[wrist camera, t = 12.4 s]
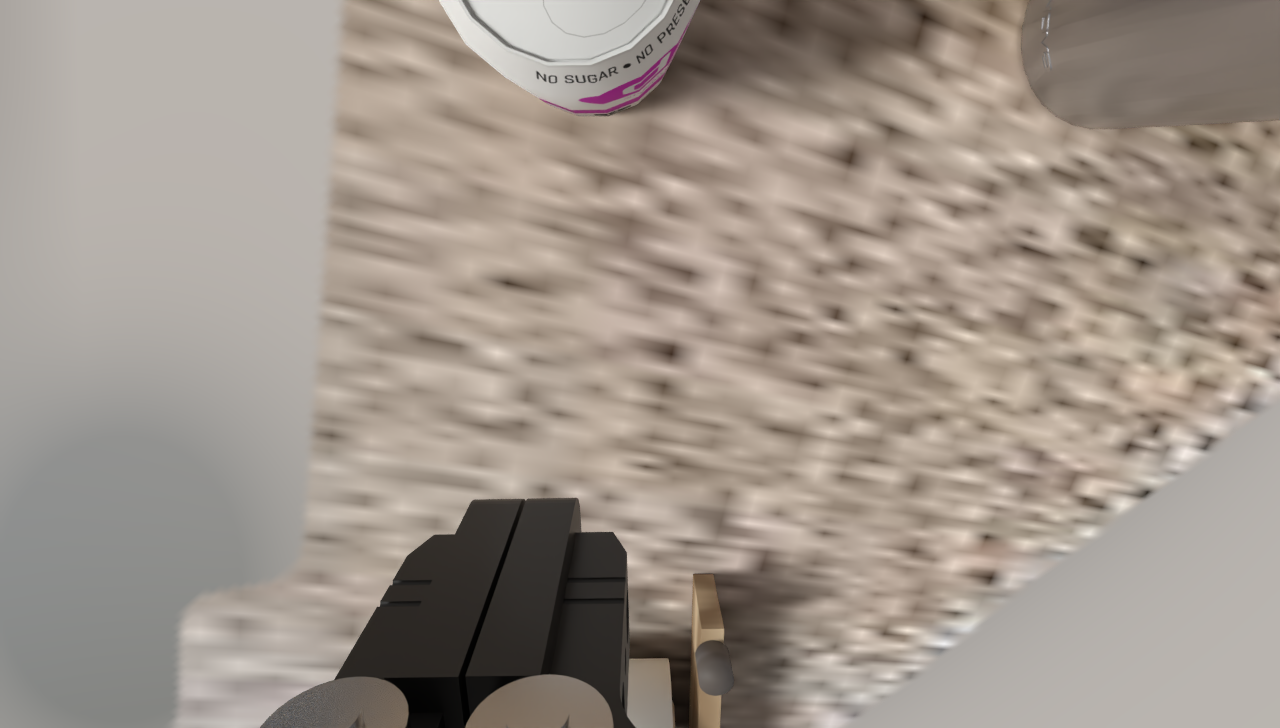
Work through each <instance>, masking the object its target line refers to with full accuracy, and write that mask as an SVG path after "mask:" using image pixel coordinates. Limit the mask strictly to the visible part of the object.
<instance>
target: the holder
mask: <svg viewBox="0 0 1280 728" xmlns="http://www.w3.org/2000/svg"><path fill="white" fill-rule="evenodd" d="M733 684H734V677H733V672H732V667H731V662H730V657H729V652H728V648H727V647H726V645H725V644H724V625H723V620H722V616H721V611H720V606H719V601H718V596H717V591H716V586H715V581H714V576H713V574H693V599H692V636H691V672H690V708H689V728H720V713H721V695H723V694H725V693H727V692H728V691H730V689H731V688H732V687H733Z"/></svg>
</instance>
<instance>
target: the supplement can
mask: <svg viewBox="0 0 1280 728" xmlns="http://www.w3.org/2000/svg"><path fill="white" fill-rule="evenodd" d="M439 2H440V3H441V5H442V6H443V8H444V10H445V11H446V13H447V15H448V16H449V18H450V20H451V21H452V23H453V24H454V26H455V28H456V29H457V31H458V33H459V34H460V36H461V38H462V39H463V41H464V42H465V44H466V45H467V46H469V47H470V48H471V49H472V50H473V51H474V52H476V53H477V54H478V55H479V56H480V57H482V58H483V59H484V60H485V61H486V62H487V63H489V64H490V65H491V66H492V67H493V68H495V69H496V70H497V71H498V72H499V73H500V74H502V75H503V76H504V77H505V78H507V79H509V80H510V81H512V82H513V83H515V84H517V85H518V86H520V87H521V88H523V89H525V90H526V91H528V92H529V93H531V94H533V95H534V96H536V97H537V98H539V99H541V100H542V101H544V102H545V103H547V104H549V105H550V106H553V107H555V108H558V109H561V110H564V111H566V112H569V113H572V114H574V115H577V116H610V115H613V114H615V113H618V112H620V111H623V110H625V109H628V108H630V107H633V106H635V105H637V104H638V103H639V102H641V101H642V100H643V99H644V98H645V97H646V96H647V95H648V94H649V93H650V92H651V91H653V90H654V89H655V88H656V87H657V86H658V85H659V84H660V83H661V81H662V79H663V77H664V75H665V73H666V71H667V69H668V68H669V66H670V64H671V62H672V60H673V58H674V56H675V54H676V52H677V50H678V48H679V46H680V43H681V41H682V39H683V37H684V35H685V33H686V30H687V28H688V26H689V24H690V22H691V20H692V17H693V15H694V13H695V11H696V9H697V7H698V5H699V2H700V0H439Z"/></svg>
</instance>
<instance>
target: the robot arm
mask: <svg viewBox="0 0 1280 728" xmlns="http://www.w3.org/2000/svg"><path fill="white" fill-rule="evenodd" d="M1021 51H1022V58H1023V65H1024V71H1025V73H1026V76H1027V78H1028V81H1029V84H1030V86H1031V89H1032V90H1033V92H1034V93H1035V95H1036V96H1037V97H1038V99H1039V100H1040V102H1041V103H1042V105H1044V106H1045V107H1046V108H1047V109H1048V110H1049V111H1050V112H1051V113H1053V114H1054V115H1055V116H1056V117H1058V118H1060V119H1062V120H1064V121H1066V122H1068V123H1070V124H1072V125H1075V126H1080V127H1084V128H1088V129H1117V128H1136V127H1161V126H1180V125H1199V124H1217V123H1236V122H1255V121H1273V120H1280V0H1030V1H1029V3H1028V6H1027V10H1026V14H1025V18H1024V22H1023V26H1022V42H1021ZM380 602H381V604H380V607H377V608H376V610H375V612H374V613H373V615H372V617H371V618H370V620H369V622H368V624H367V625H366V627H365V629H364V630H363V632H362V634H361V635H360V637H359V639H358V640H357V642H356V644H355V646H354V647H353V649H352V651H351V652H350V654H349V656H348V657H347V659H346V661H345V663H344V664H343V666H342V668H341V669H340V671H339V673H338V674H337V676H336V678H335V679H334V680H333V681H329V682H326V683H323V684H321V685H318V686H315V687H313V688H311V689H309V690H307V691H305V692H302V693H301V694H299V695H297V696H296V697H294V698H292V699H291V700H289V701H288V702H287V703H285V704H284V705H282V706H281V707H280V708H279V709H277V710H276V711H275V712H274V713H273V714H272V715H271V716H270V717H269V718H268V719H267V720H266V721H265V722H264V723H263V725H262V726H261V727H260V728H636V727H635V726H634V725H633V724H632V722H631V721H630V719H629V718H628V717H627V705H628V672H629V649H630V638H629V607H628V576H627V552H626V551H625V549H624V548H623V546H622V545H621V543H620V542H619V540H618V539H617V537H616V536H615V534H614V533H613V532H582V533H581V517H580V505H579V500H578V498H542V499H527V500H526V501H525V499H487V500H473V501H472V502H471V504H470V505H469V507H468V509H467V511H466V513H465V515H464V517H463V519H462V521H461V523H460V525H459V527H458V529H457V531H456V533H455V535H433V536H432V537H431V538H430V539H428V540H427V541H426V542H424V543H423V544H422V545H421V546H419V547H418V548H417V549H415V550H414V551H413V552H412V553H410V554H409V555H408V556H407V557H406V559H405V561H404V562H403V564H402V566H401V568H400V569H399V571H398V573H397V574H396V576H395V578H394V579H393V585H390V586H389V588H388V590H387V591H386V593H385V595H384V596H383V598H382V600H381V601H380Z"/></svg>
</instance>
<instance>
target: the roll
mask: <svg viewBox="0 0 1280 728" xmlns="http://www.w3.org/2000/svg"><path fill="white" fill-rule="evenodd" d="M627 717H628V718H629V719H630V721H631V722H632V724H633V725H634V726H635V727H636V728H675V712H674V703H673V702H672V692H671V677H670V666H669V659H668V658H648V659H629V672H628V705H627Z"/></svg>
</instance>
